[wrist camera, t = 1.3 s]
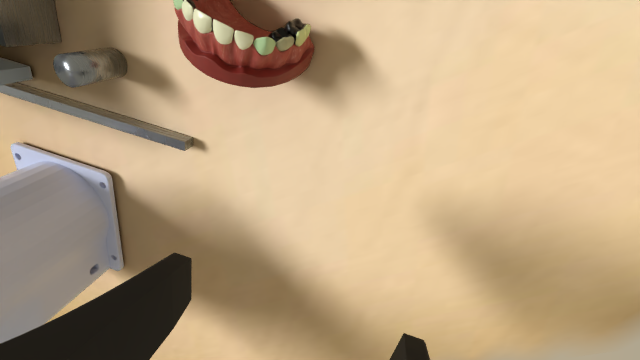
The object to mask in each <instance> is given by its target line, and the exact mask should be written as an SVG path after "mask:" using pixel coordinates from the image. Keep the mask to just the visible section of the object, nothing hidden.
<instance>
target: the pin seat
mask: <svg viewBox="0 0 640 360" xmlns="http://www.w3.org/2000/svg"><path fill="white" fill-rule="evenodd" d="M56 42H61V36H60V31H59V25H58V20H57V14H56V9H55V3H54V0H0V45H1V46H5V47H13V46H24V45H35V44H46V43H56ZM53 65H54V70H55V72H56V74H57V76H58V77H59V79H60V80H61V81H62V82H63V83H64V84H66V85H67V86H69V87H79V86H83V85H87V84H92V83H96V82H100V81H105V80H109V79H113V78H118V77H122V76H124V75H125V74H126V71H127V63H126V60H125V58H124V57H123V55H122V54H121V53H120V52H119V51H118V50H116V49H114V48H104V49H96V50H88V51H80V52H72V53H64V54H58V55H57V56H55V58H54V62H53ZM0 93H3V94H7V95H10V96H13V97H16V98H19V99H22V100H26V101H29V102H32V103H35V104H38V105H41V106H45V107H48V108H51V109H54V110H57V111H60V112H63V113H67V114H70V115H73V116H76V117H79V118H82V119H86V120H89V121H92V122H95V123H98V124H101V125H104V126H108V127H111V128H114V129H117V130H120V131H123V132H127V133H130V134H133V135H136V136H139V137H142V138H145V139H149V140H152V141H155V142H158V143H161V144H164V145H168V146H171V147H174V148H177V149H180V150H183V151H186V150H187V149H189V148H190V147H192V146H193V137H190V136H187V135H184V134H180V133H177V132H174V131H171V130H167V129H164V128H161V127H158V126H155V125H151V124H148V123H145V122H142V121H138V120H135V119H132V118H129V117H126V116H122V115H119V114H116V113H113V112H110V111H106V110H103V109H100V108H97V107H93V106H90V105H87V104H84V103H81V102H77V101H74V100H71V99H68V98H65V97H61V96H58V95H55V94H52V93H48V92H45V91H42V90H39V89H36V88H32V87H29V86H26V85H23V84H19V83H16V82H15V83H9V84H4V85H0Z"/></svg>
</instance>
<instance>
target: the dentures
mask: <svg viewBox="0 0 640 360" xmlns="http://www.w3.org/2000/svg"><path fill="white" fill-rule="evenodd" d="M173 1H174V6H175V12H176V14H177V17H178V19H179V20H178V36H179V43H180V47H181V49H182V51H183V53H184V55H185V57H186V58H187V59H188V60H189V61H190V62H191V63H192V64H193V65H194V66H195V67H196V68H197V69H199V70H200V71H202V72H203V73H205V74H206V75H208V76H210V77H212V78H214V79H216V80H219V81H222V82H224V83H228V84H232V85H237V86H242V87H251V88H258V87H271V86H276V85H279V84H283V83H286V82H288V81H290V80H292V79H294V78H296V77H298V76H299V75H300V74H301V73H303V72H304V71H305V70H306V69H307V68H308V66H309V64H310V62H311V59H312V55H313V52H314V46H313V43H312V41H311V39H310V37H309V33H310V29H311V26H310V25H309V24H303V23H302V22H301V21H300V20H299V19H295V20H293V21H289V22H288V23H287V24H286V25H285V27H284V28H279V29H278V30H276V31H273V32H270V31H266V30H263V29H261V28H258V27H256V26H255V25H253V24H251V23H250V22H248V21H247V20H246V19H244V18H243V17H242V16H241V15H240V14H239V13H238V11H237V10H236V9H235V8H234V6H233V5H232V4H231V2H230V0H173Z"/></svg>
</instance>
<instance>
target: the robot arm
mask: <svg viewBox="0 0 640 360" xmlns="http://www.w3.org/2000/svg"><path fill="white" fill-rule="evenodd" d="M11 151H12V154H13V157H14V160H15V164H16V167H17V171H14V172H12V173H9V174H7V175H4V176H2V177H0V360H149V359H150V358H151V357H152V355H153V354H154V353H155V352H156V350H157V349H158V348H159V346H160V345H161V344H162V343H163V341H164V340H165V339H166V337H167V336H168V335H169V334H170V332H171V331H172V330H173V328H174V327H175V325H176V324H177V322H178V320H179V319H180V317H181V316H182V314H183V312H184V311H185V309H186V307H187V306H188V304H189V302H190V301H191V258H189V257H186V256H183V255H180V254H177V253H173V254H171V255H170V256H168V257H166V258H164V259H163V260H161V261H159V262H158V263H156V264H154V265H153V266H151V267H149V268H148V269H146V270H144V271H143V272H141V273H139V274H138V275H136V276H134V277H133V278H131V279H129V280H127V281H126V282H124V283H122V284H120V285H119V286H117V287H115V288H113V289H111V290H110V291H108V292H106V293H104V294H103V295H101V296H99V297H97V298H95V299H93V300H91V301H89V302H88V303H86V304H84V305H82V306H80V307H78V308H76V309H74V310H72V311H70V312H68V313H66V314H64V315H62V316H60V317H58V318H56V319H54V320H52V321H50V322H48V323H46V322H47V321H48V320H50V319H51V318H52V317H53V316H54V315H56V314H57V313H58V312H59V311H60V310H61V309H63V308H64V307H65V306H66V305H67V304H68V303H70V302H71V301H72V300H73V299H74V298H75V297H77V296H78V295H79V294H80V293H81V292H82V291H84V290H85V289H86V288H87V287H88V286H89V285H91V284H92V283H93V282H94V281H95V280H96V279H97V278H99V277H100V276H101V275H102V274H103V273H104V272H106V271H107V270H108V269H109V268H111V269H114V270H117V271H120V270H121V269H122V268H123V267H124V263H123V256H122V249H121V241H120V234H119V226H118V219H117V211H116V204H115V196H114V189H113V182H112V177H111V175H110V174H109V173H108V172H106V171H103V170H100V169H97V168H94V167H91V166H88V165H86V164H83V163H80V162H77V161H74V160H71V159H68V158H65V157H62V156H59V155H56V154H53V153H50V152H47V151H44V150H41V149H38V148H35V147H32V146H29V145H26V144H23V143H20V142H16V143H13V144H11ZM45 323H46V324H45ZM43 324H44V325H43ZM390 360H430V358H429V355H428V351H427V347H426V344H425V342H424V340H422V339H419V338H416V337H413V336H410V335H407V334H405V333H404V334H403V336H402V338H401V339H400V341H399V343H398V345H397V347H396V349H395V351H394V352H393V354H392V356H391V358H390Z"/></svg>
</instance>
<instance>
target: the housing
mask: <svg viewBox="0 0 640 360" xmlns="http://www.w3.org/2000/svg"><path fill="white" fill-rule="evenodd" d="M31 79H33V78H32V73H31V69H30V66H27V65H24V64H21V63H17V62H14V61H11V60H7V59H4V58H1V57H0V85H4V84H9V83H15V82H20V81H26V80H31Z"/></svg>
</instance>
